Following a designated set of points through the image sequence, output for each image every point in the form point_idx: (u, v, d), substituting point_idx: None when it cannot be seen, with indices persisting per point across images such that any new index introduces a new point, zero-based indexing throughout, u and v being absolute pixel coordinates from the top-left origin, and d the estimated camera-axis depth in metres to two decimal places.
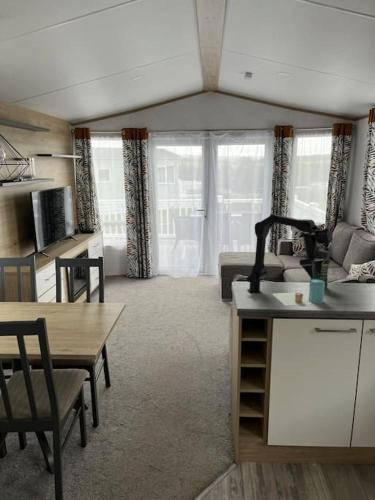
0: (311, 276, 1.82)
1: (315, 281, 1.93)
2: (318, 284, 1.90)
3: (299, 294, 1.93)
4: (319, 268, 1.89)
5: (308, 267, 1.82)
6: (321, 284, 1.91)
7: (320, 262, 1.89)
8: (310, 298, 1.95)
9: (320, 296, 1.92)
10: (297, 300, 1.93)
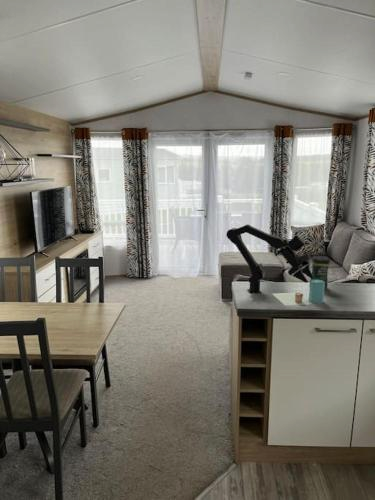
0: (305, 280, 1.92)
1: (315, 281, 1.93)
2: (318, 284, 1.90)
3: (299, 294, 1.93)
4: (309, 273, 2.00)
5: (298, 274, 1.93)
6: (321, 284, 1.91)
7: (306, 267, 2.01)
8: (310, 298, 1.95)
9: (320, 296, 1.92)
10: (297, 300, 1.93)
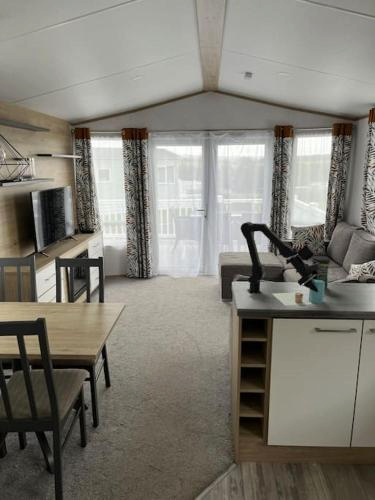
0: (316, 290, 1.91)
1: (315, 281, 1.93)
2: (318, 284, 1.90)
3: (299, 294, 1.93)
4: None
5: (309, 283, 1.91)
6: (321, 284, 1.91)
7: (315, 277, 1.98)
8: (310, 298, 1.95)
9: (320, 296, 1.92)
10: (297, 300, 1.93)
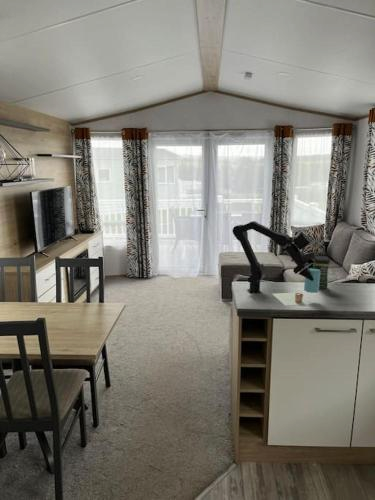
0: (311, 279, 1.89)
1: (311, 270, 1.92)
2: (314, 273, 1.89)
3: (299, 294, 1.93)
4: None
5: (304, 272, 1.90)
6: (317, 273, 1.89)
7: (311, 266, 1.96)
8: (305, 287, 1.93)
9: (315, 285, 1.90)
10: (297, 300, 1.93)
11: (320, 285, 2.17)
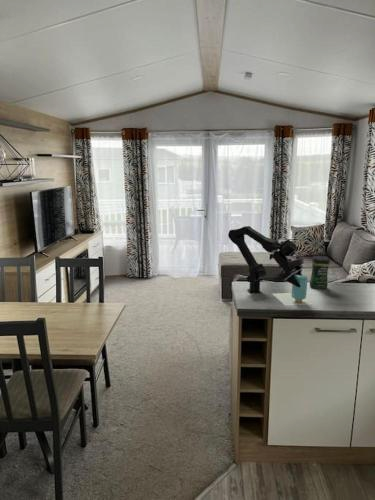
0: (298, 285, 1.89)
1: (298, 276, 1.91)
2: (300, 279, 1.89)
3: None
4: None
5: (291, 279, 1.90)
6: (303, 279, 1.89)
7: (298, 273, 1.96)
8: (293, 293, 1.93)
9: (302, 291, 1.90)
10: (297, 300, 1.93)
11: (320, 285, 2.17)
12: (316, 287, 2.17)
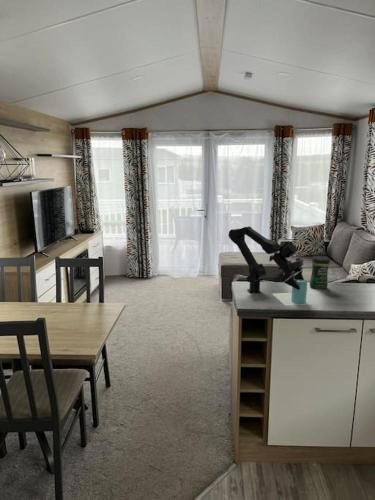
0: (297, 288, 1.88)
1: (297, 281, 1.92)
2: (300, 284, 1.89)
3: None
4: (301, 279, 1.96)
5: (290, 281, 1.89)
6: (303, 284, 1.89)
7: (299, 274, 1.97)
8: (293, 298, 1.93)
9: (302, 296, 1.90)
10: None
11: (320, 285, 2.17)
12: (316, 287, 2.17)
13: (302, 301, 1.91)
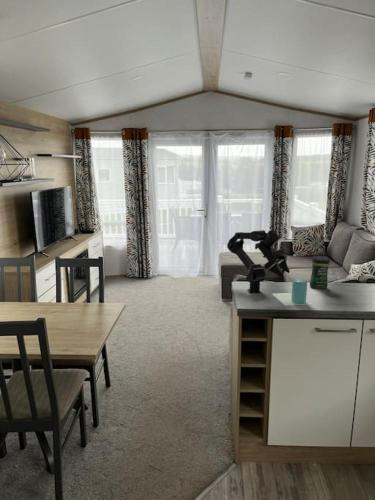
0: (281, 275, 1.92)
1: (297, 281, 1.92)
2: (300, 284, 1.89)
3: None
4: (285, 267, 2.00)
5: (274, 268, 1.93)
6: (303, 284, 1.89)
7: (283, 262, 2.01)
8: (293, 298, 1.93)
9: (302, 296, 1.90)
10: None
11: (320, 285, 2.17)
12: (316, 287, 2.17)
13: (302, 301, 1.91)
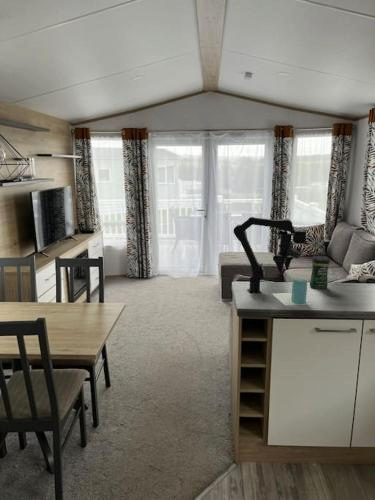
0: (280, 271, 2.01)
1: (297, 281, 1.92)
2: (300, 284, 1.89)
3: None
4: (287, 264, 2.08)
5: (279, 263, 1.99)
6: (303, 284, 1.89)
7: (289, 259, 2.07)
8: (293, 298, 1.93)
9: (302, 296, 1.90)
10: None
11: (320, 285, 2.17)
12: (316, 287, 2.17)
13: (302, 301, 1.91)
